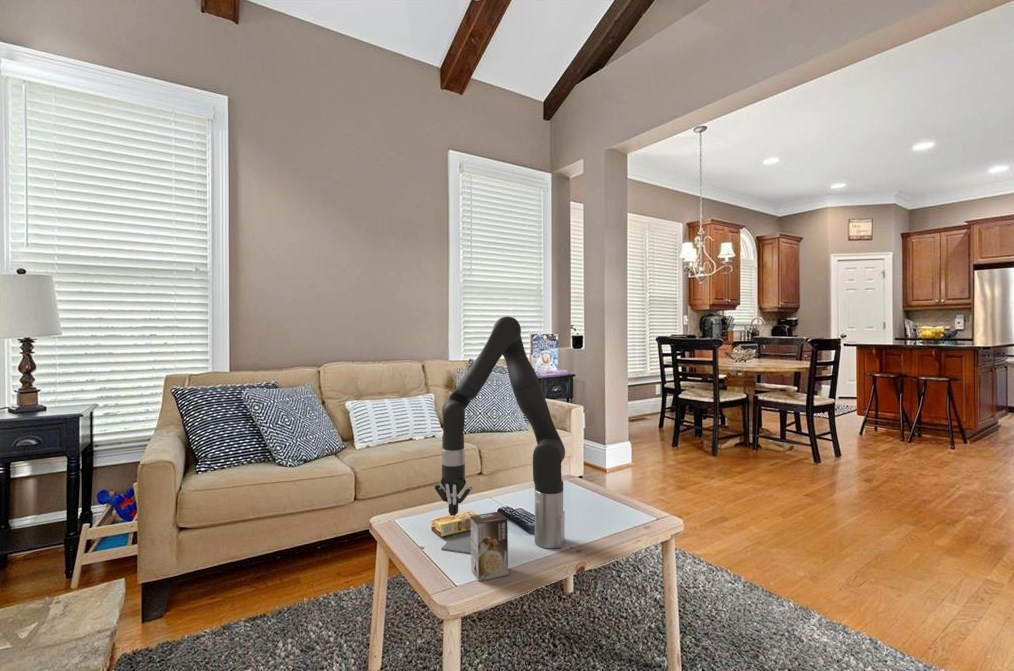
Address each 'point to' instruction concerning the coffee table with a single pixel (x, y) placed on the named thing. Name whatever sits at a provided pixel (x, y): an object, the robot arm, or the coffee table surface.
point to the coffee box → (489, 546)
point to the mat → (459, 543)
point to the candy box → (452, 523)
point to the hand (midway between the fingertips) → (453, 514)
